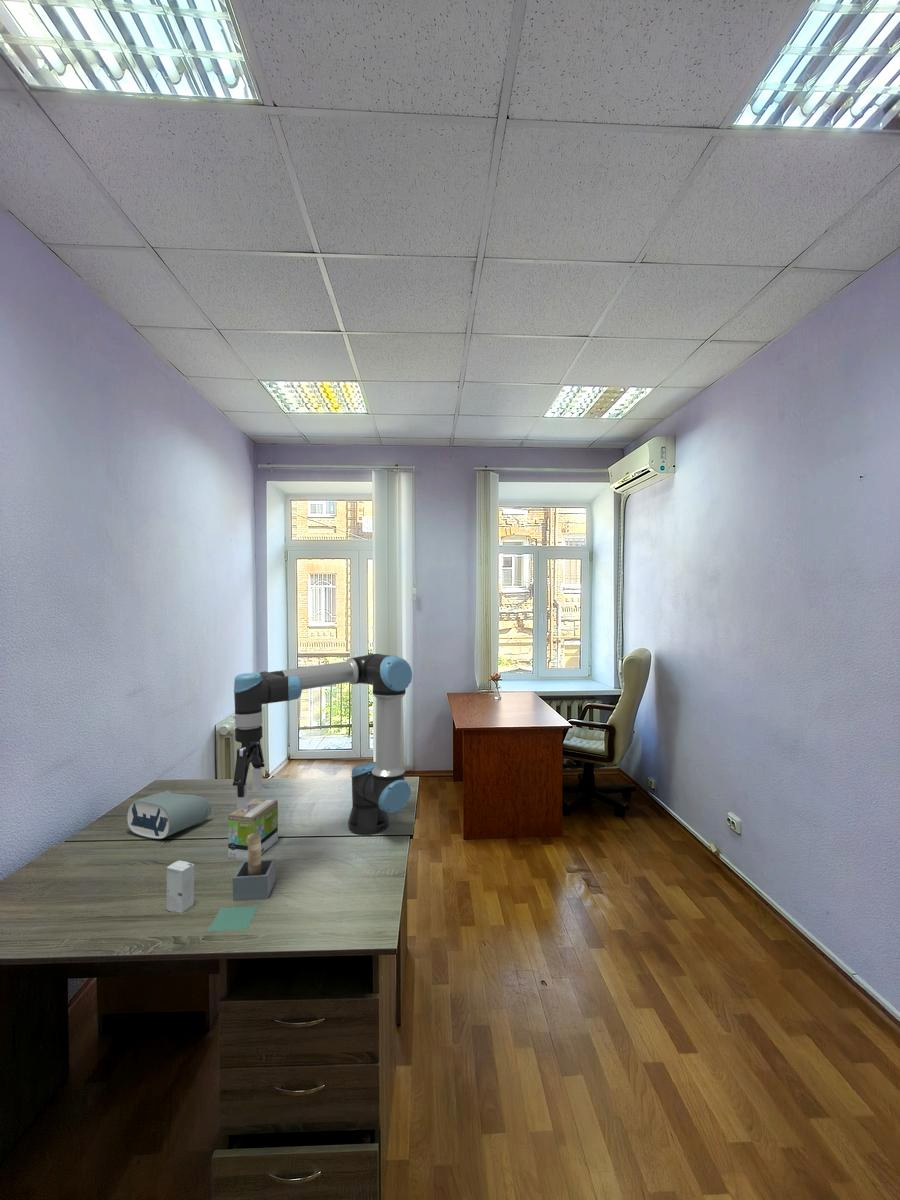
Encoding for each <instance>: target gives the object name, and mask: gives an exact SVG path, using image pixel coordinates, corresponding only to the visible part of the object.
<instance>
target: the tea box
mask: <svg viewBox="0 0 900 1200" xmlns="http://www.w3.org/2000/svg"><path fill="white" fill-rule="evenodd" d="M278 804H279V803H278V800H277V799H267V798H252V799H251V800H249V801H247V805H248V807H247V808H236V810H234V811H232V812H231V813H229V814H228V819H227V820H228V821H227V822H228V826H227V827H228V829H227V830H228V832H227V834H228V835H227V837H228V838H227V840H228V841H227V842H228V843H227V845H228V848H227V850H228V851H227V852H228V853H227V854H228V855H227V858H228V859H243V860H248V835H250V834H252V833H260V834H261V855H262V854H263V853H265V851H267V850H268V849H269V848H270V847H272V846H273V845H275V843H276V842H278V840H279V831H278V830H279V828H278V827H279V821H278V820H279V814H278V812H279V811H278V810H279V808H278V807H279V805H278Z"/></svg>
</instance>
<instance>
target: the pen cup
mask: <svg viewBox="0 0 900 1200" xmlns="http://www.w3.org/2000/svg"><path fill="white" fill-rule="evenodd" d="M261 870H262V875H254V876H248V860H243V861H241V863H240V865H239V867H238V868H237V870H236V872H235V873H234V874H233V877H232V901H233V902H238V901H239V902H240V901H251V900H252V901H253V900H254V901H255V900H266V899H267V900H268V899H269V898H270V895H271V892H272V891H273V888H274V886H275V884H276V881H277V859H276V858H271V859H270V858H269V859H261Z"/></svg>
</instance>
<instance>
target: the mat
mask: <svg viewBox="0 0 900 1200" xmlns="http://www.w3.org/2000/svg"><path fill="white" fill-rule="evenodd" d="M258 907H259V905H250V906H236V907H231V906H230V907H221V908H220V909H219V911H218V912H217V914H216V916H215V917H214V919H213V920H212V922H211V924H210V926H209V928H207V929H208V930H207V933H211V932H221V931H222V932H223V931H237V930H248V928H249V926H250V924H251V922H252V920H253V918H254V915H255V914H256V912H257V910H258Z"/></svg>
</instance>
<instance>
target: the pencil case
mask: <svg viewBox="0 0 900 1200" xmlns="http://www.w3.org/2000/svg"><path fill="white" fill-rule="evenodd" d="M211 812H212V807H211V804H210V802H209V801H208V800H207V799H206V798H205V797H204V796H200V795H195V794H184V793H183V794H180V793H172V792H171V791H170V790H166V791H161V792H158V793H155V794H151V795H148V796H145V797H142V798H139V799H135V800H134V801H131V802H130V803H129V805H128V806H127V808H126V817H125V820H126V825H127V827H128V829H129V830H130V831H131V832H132V834H134V835H137V836H140V837H144V838H148V839H153V840H154V839H155V840H162V839H165V838H167V837H169V836H171V835H174V834H177V833H178V832H180V831H184V830H186V829H189V828H191V827H193V826H196V825H198V824H200V823H202V822H203V821H205V820H207V819H208V818H209V816H210V814H211Z"/></svg>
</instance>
